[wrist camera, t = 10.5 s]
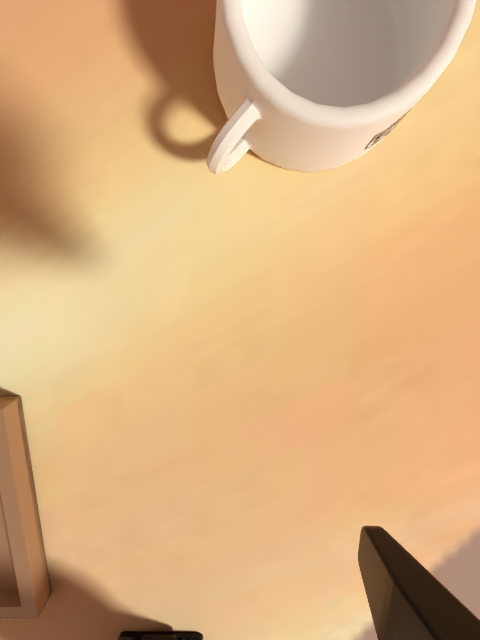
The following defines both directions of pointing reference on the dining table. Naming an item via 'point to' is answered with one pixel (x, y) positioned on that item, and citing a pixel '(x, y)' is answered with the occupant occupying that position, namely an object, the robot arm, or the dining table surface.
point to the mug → (325, 74)
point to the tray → (19, 521)
